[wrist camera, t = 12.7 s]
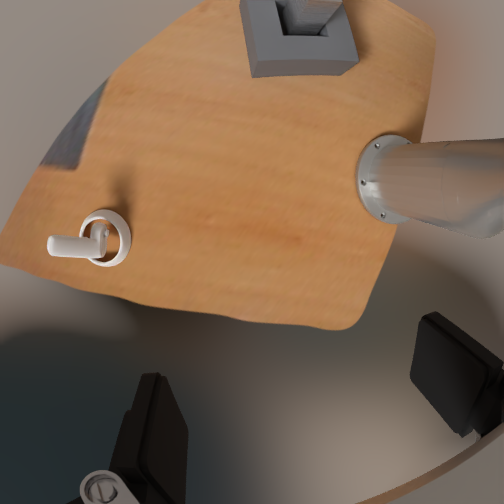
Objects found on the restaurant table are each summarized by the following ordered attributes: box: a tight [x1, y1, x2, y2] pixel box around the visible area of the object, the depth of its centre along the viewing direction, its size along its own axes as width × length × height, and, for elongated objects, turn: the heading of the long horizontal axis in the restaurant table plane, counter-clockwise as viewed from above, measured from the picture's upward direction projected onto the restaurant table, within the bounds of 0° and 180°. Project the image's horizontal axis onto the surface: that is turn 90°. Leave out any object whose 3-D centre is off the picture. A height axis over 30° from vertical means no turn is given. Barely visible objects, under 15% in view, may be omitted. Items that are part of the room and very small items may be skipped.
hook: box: [47, 209, 131, 267], centre depth 31 cm, size 8×12×7 cm
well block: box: [239, 0, 359, 78], centre depth 27 cm, size 12×12×6 cm
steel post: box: [279, 0, 343, 36], centre depth 24 cm, size 4×4×13 cm
